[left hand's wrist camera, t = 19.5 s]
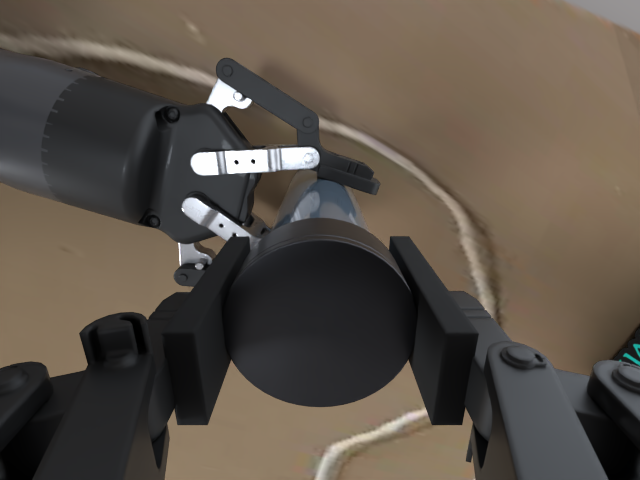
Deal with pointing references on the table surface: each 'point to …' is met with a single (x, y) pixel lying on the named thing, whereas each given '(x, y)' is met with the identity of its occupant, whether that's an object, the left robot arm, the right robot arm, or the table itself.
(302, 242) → the lid
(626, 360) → the decorative sign
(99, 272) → the table surface
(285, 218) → the bottle
